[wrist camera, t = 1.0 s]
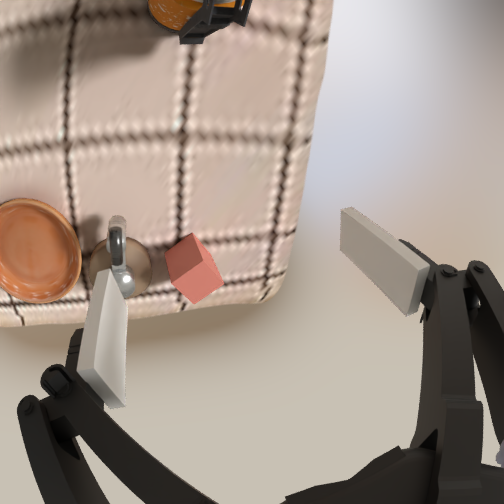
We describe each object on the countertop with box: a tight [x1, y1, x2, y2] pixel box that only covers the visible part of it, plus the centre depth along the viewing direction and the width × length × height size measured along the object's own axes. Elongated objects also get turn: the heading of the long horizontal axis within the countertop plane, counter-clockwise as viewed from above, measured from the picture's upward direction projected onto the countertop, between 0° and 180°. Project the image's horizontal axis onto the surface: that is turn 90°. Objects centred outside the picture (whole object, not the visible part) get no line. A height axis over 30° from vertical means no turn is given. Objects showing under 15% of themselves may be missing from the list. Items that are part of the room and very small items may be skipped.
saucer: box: [0, 198, 82, 303], centre depth 31 cm, size 16×16×3 cm
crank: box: [106, 215, 135, 298], centre depth 33 cm, size 12×4×6 cm, turn 168°
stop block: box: [165, 233, 224, 304], centre depth 40 cm, size 5×5×7 cm
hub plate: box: [89, 237, 152, 299], centre depth 38 cm, size 9×9×3 cm
